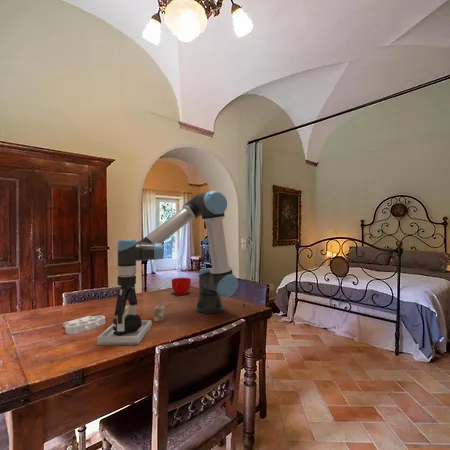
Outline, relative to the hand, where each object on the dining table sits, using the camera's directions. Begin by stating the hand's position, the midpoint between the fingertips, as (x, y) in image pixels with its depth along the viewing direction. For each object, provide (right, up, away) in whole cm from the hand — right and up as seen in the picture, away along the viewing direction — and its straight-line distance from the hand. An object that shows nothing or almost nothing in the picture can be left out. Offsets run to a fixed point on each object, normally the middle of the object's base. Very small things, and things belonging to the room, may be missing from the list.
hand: (126, 325), depth 121 cm
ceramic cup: (+12, -5, +72) cm, 73 cm away
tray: (0, -4, 0) cm, 4 cm away
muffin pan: (-23, -5, +10) cm, 26 cm away
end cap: (0, -3, 0) cm, 3 cm away
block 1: (-9, -4, +21) cm, 23 cm away
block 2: (+9, -4, +21) cm, 23 cm away
